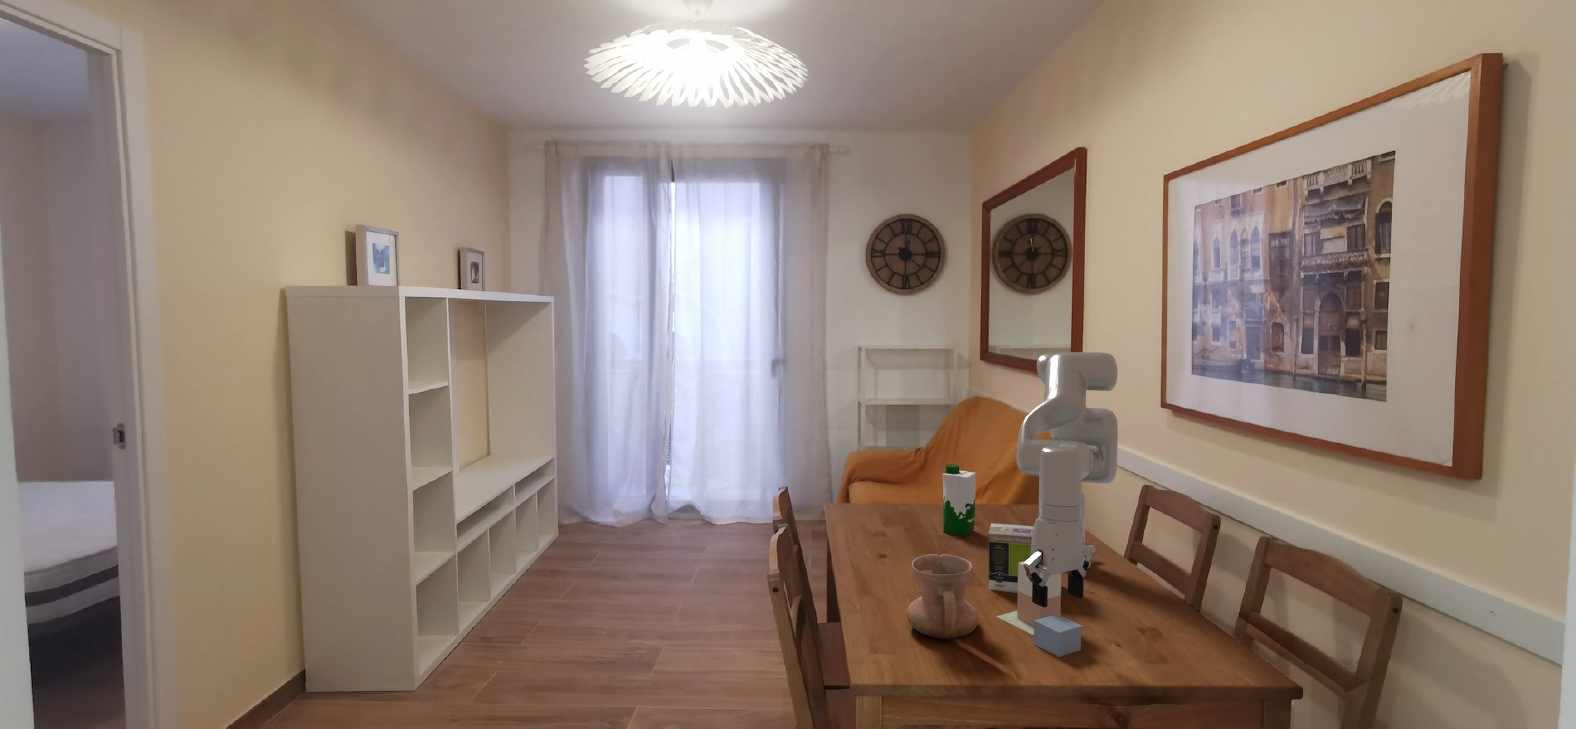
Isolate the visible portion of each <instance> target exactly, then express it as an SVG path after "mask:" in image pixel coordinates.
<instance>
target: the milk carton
mask: <svg viewBox="0 0 1576 729" xmlns="http://www.w3.org/2000/svg"><path fill="white" fill-rule="evenodd" d="M942 486H943V487H942V489H943V490H942V491H943V492H942V493H943V496H942V497H943V504H942V505H943V506H942V508H943V509H942V510H943V511H942V516H943V518H942V524H943V525H942V527H943V529H942V530H943V531H942V532H943V533H945V534H950V535H956V536H963V537H967V536H968V535H970V534H971V533H973V531H974V530H975V519H976V472H974V471H973V472H972V471H967V470H960V465H958V464H946V465H945V472H943V473H942Z"/></svg>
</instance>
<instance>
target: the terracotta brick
mask: <svg viewBox="0 0 1576 729" xmlns="http://www.w3.org/2000/svg"><path fill="white" fill-rule="evenodd" d="M1061 598H1062V594H1061V595H1060V596H1056V597H1052V598H1049V599H1048V605H1047V607H1042V606H1039V605H1037V604H1035V603H1033V602H1032V597H1030V596H1028V595H1026V594H1024V593H1021V592H1019V591H1018V593H1017V607H1016V608H1017V609H1016V611H1017V619H1019V620H1021V621H1023V622H1025V623H1027V624H1029V625H1031V626H1033V627H1034V620H1038V619H1041V618H1045V617H1048V616H1052V615H1058V616H1061V611H1062V610H1061V609H1062V608H1061V604H1062V602H1061V601H1062V599H1061Z"/></svg>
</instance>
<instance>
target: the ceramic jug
mask: <svg viewBox="0 0 1576 729" xmlns="http://www.w3.org/2000/svg"><path fill="white" fill-rule="evenodd" d="M911 569H912V572H913V573H912V574H913V577H914V580H915V583H916V586H917V588H918V591H919V593H920V595H921V596H919V597H917V598H915V599H914V600H912V601H911V602H910V604H908V607H907V609H906V618H907V621H908V623H909V625H910V627H912V628H913V629H914V630H916V631H917V632H919V633H921V634H922V635H925V636H928V637H931V638H935V639H942V640H943V639H944V640H949V639H950V640H951V639H959V638H962V637H965V636H968V635H970V634H971V633H973V631H975V629H977V628H976V627H977V625H978V622H979V615H978V613H977V610H976V608H975V607H974V605H972V604H971V603H970V602H969V601H967V600H966V599H964V597H965V595H966V592H967V590H968V587H969V584H970V582H971V579H972V578H971V577H972V572H973V565H972V563H971V561H969V560H968V559H965V558H962V557H960V556H957V555H953V554H945V553H944V554H943V553H942V554H941V555H939V554H937V553H933V554H931V553H929V554H924V555H920V556H918V557H916V558H915V559H913V560H912V562H911ZM925 570H926V571H927V570H928V571H931V572H930V573H928V572H924V571H925Z"/></svg>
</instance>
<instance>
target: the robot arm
mask: <svg viewBox="0 0 1576 729" xmlns="http://www.w3.org/2000/svg"><path fill="white" fill-rule="evenodd" d="M1036 371H1037V375H1038V376H1039V380H1040V381H1041V382H1042V383H1043V384H1044V394H1043V402H1042V403H1040V404H1039V405H1037V406H1036V407H1034V408H1033V410H1031V411H1030V412H1029V414H1027V415H1026V417H1025V418H1024V419H1023V420H1022V423H1021V425H1020V427H1019V431H1018V437H1017V448H1016V465H1017V467H1018V469H1019V471H1020V472H1021V473H1022V474H1024V475H1027V476H1030V477H1031V476H1032V477H1038V478H1039V480H1038V485H1039V486H1038V517H1037V518H1035V522H1034V525H1033V526H1034V529H1033V535H1032V543H1031V556H1030V558H1029V559H1028V560H1027V561H1026V562H1024V565H1023V566H1024V568H1025V571H1026V575H1027V577H1028V578H1029V579H1030V582H1032V602H1033V603H1035V604H1037V605H1039V606H1042V607H1047V605H1048V586H1045V584H1046V583H1047V581H1048V579H1049V577H1050V575H1055V574H1060V573H1061V574H1064V573H1067V594H1068V595H1071V596H1073V597H1076V598H1078V599H1083V598H1084V583H1085V582H1084V580H1085V579H1084V578H1085V577H1086V576H1087V570H1088V569H1090V568H1091V558H1092V556H1093V553H1095V552H1096V547H1095V545H1093V544H1091V545H1085V544H1086V542H1085V541H1086V540H1085V539H1086V538H1085V537H1086V536H1085V534H1086V498H1085V495H1084V493H1083V491H1082V487H1083V485H1082V483H1089V484H1104V485H1105V484H1109V483H1112V482H1113V481H1114V480H1115V478H1116V476H1117V470H1118V468H1117V467H1118V443H1119V442H1118V440H1119V439H1118V438H1119V437H1118V436H1119V433H1118V432H1119V430H1118V429H1119V425H1118V420H1117V416H1116V414H1115V413H1114V412H1113V411H1112V410H1110V409H1107V408H1099V407H1098V408H1097V407H1087V391H1096V392H1098V391H1100V392H1101V391H1102V392H1105V391H1106V392H1111V391H1112V390H1113V389H1114V388H1115V387H1116V385H1117V380H1118V374H1119V373H1118V364H1117V361H1116V359H1115V357H1114V356H1113V355H1112V354H1111V353H1108V352H1096V351H1095V352H1093V351H1092V352H1090V351H1089V352H1088V351H1084V352H1083V351H1082V352H1081V351H1077V352H1076V351H1074V352H1073V351H1067V352H1066V351H1065V352H1058V353H1057V352H1055V353H1053V352H1052V353H1051V352H1050V353H1043V354H1042V355H1040V356H1039V357H1038V359H1037V360H1036ZM1047 431H1049V433H1050V437H1051V439H1048V438H1036V437H1038V435H1040V434H1043V433H1044V432H1047ZM1044 568H1046V569H1044ZM1068 572H1069V573H1068ZM1040 573H1044V574H1043V576H1042V577H1041V578H1040V576H1039V575H1040Z"/></svg>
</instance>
